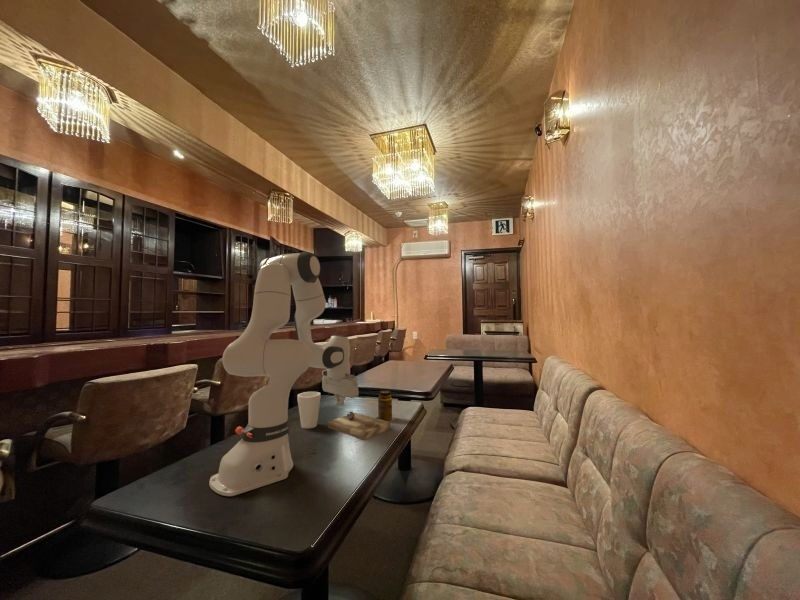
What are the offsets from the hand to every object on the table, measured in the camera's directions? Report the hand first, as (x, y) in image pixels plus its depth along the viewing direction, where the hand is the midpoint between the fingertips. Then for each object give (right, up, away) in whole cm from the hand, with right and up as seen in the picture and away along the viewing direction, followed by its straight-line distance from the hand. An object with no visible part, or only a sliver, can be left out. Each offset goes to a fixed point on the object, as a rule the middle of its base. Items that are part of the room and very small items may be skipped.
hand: (340, 404), depth 141 cm
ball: (+5, -3, -5) cm, 8 cm away
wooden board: (+9, -7, -8) cm, 14 cm away
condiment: (+19, -7, +2) cm, 20 cm away
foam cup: (-12, -8, -5) cm, 15 cm away
